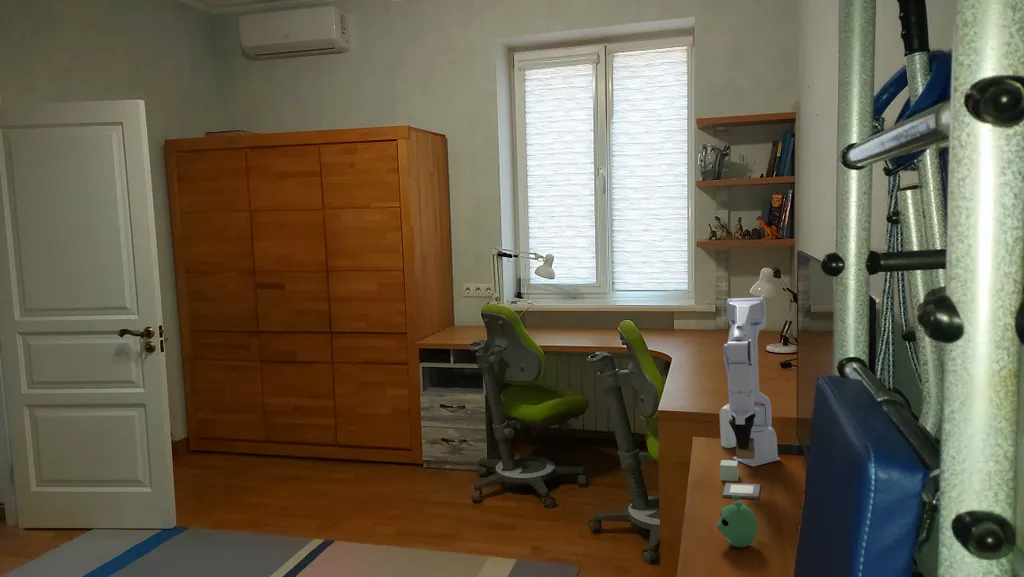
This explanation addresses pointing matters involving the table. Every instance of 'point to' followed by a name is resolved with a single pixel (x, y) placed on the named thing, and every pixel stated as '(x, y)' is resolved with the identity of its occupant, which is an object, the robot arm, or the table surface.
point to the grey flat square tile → (742, 490)
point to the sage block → (729, 470)
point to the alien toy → (738, 524)
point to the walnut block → (746, 451)
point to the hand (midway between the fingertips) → (744, 446)
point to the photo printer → (726, 428)
